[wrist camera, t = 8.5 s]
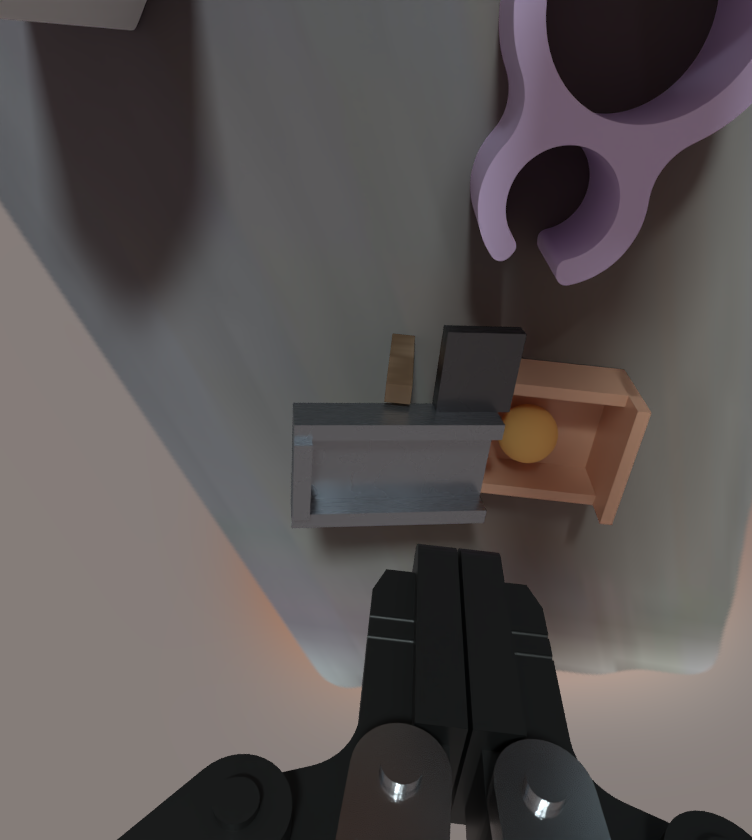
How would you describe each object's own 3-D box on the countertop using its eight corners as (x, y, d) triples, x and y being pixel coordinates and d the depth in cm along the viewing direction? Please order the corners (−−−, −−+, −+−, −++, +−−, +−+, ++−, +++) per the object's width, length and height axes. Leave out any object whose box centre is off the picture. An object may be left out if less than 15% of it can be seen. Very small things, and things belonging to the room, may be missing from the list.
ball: (492, 396, 43) (522, 426, 39) (543, 391, 44) (576, 420, 41) (482, 445, 45) (510, 478, 41) (531, 439, 46) (562, 470, 43)
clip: (604, 274, 40) (636, 312, 34) (420, 204, 38) (418, 231, 32) (818, -115, 30) (916, -157, 24) (579, -227, 29) (620, -302, 23)
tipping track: (290, 502, 40) (292, 533, 37) (294, 321, 34) (296, 344, 31) (483, 498, 42) (497, 527, 39) (520, 327, 36) (539, 349, 33)
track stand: (379, 458, 48) (371, 521, 41) (392, 333, 42) (386, 383, 36) (399, 460, 48) (394, 524, 41) (414, 336, 42) (412, 386, 36)
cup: (463, 458, 47) (467, 508, 42) (482, 354, 43) (490, 395, 38) (591, 473, 47) (611, 525, 42) (624, 369, 43) (651, 412, 37)
